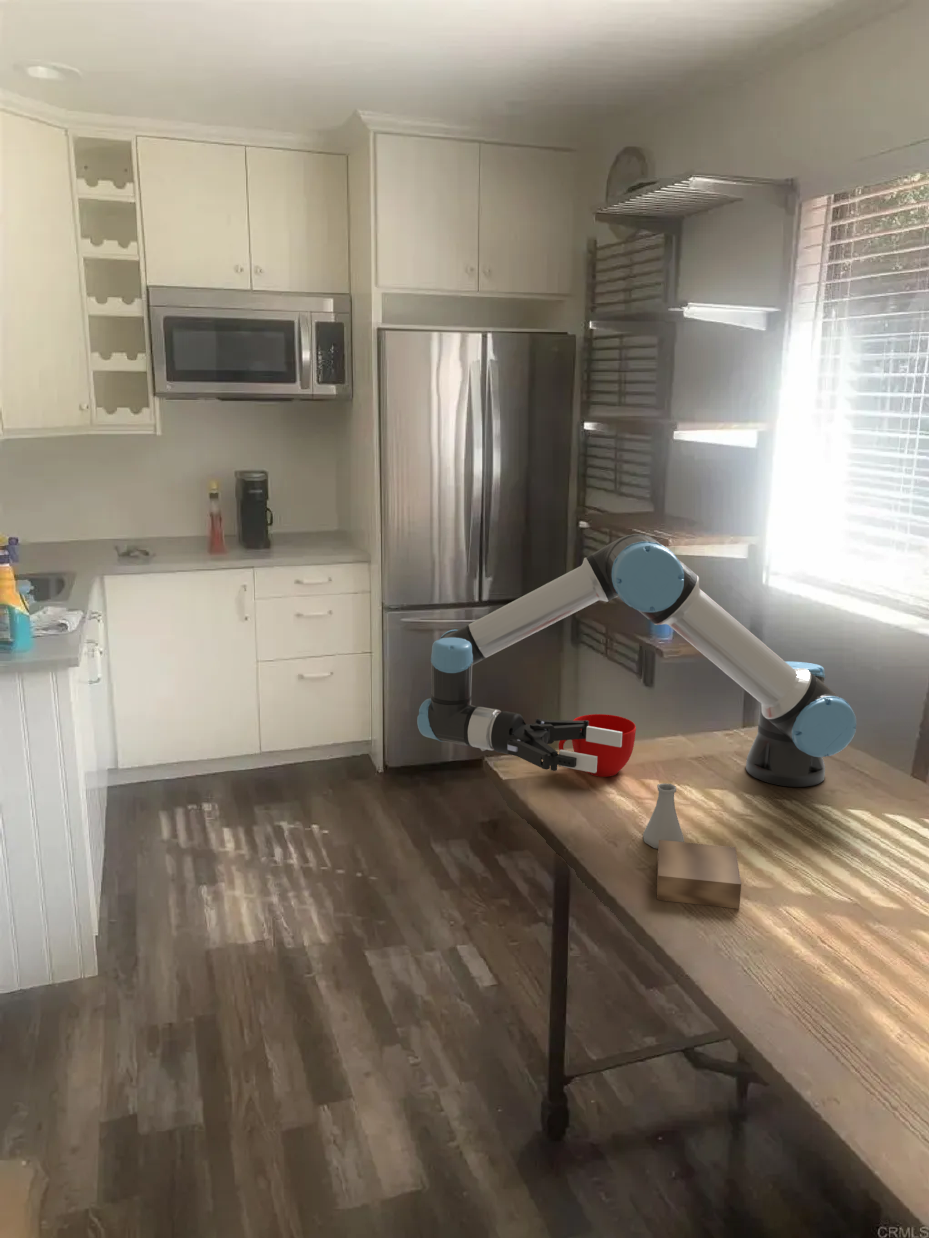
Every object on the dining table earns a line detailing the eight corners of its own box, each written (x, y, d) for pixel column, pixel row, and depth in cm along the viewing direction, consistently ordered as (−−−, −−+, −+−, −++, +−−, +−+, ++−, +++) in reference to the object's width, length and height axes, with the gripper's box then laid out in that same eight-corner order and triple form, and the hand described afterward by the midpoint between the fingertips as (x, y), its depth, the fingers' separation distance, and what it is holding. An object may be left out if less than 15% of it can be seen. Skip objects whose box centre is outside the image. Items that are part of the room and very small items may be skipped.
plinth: (733, 869, 148) (735, 847, 147) (739, 908, 136) (741, 884, 135) (657, 862, 150) (658, 839, 149) (656, 899, 138) (658, 875, 138)
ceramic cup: (541, 768, 189) (542, 722, 186) (608, 755, 196) (610, 710, 194) (576, 791, 178) (578, 742, 175) (647, 776, 185) (649, 729, 183)
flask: (675, 830, 161) (678, 777, 159) (692, 849, 154) (695, 794, 152) (636, 833, 160) (638, 779, 158) (651, 852, 153) (654, 797, 151)
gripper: (524, 730, 180) (629, 749, 170) (466, 773, 158) (583, 798, 149) (525, 693, 178) (631, 710, 169) (467, 731, 156) (585, 754, 147)
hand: (609, 751), depth 159 cm, fingers open, 13 cm apart
